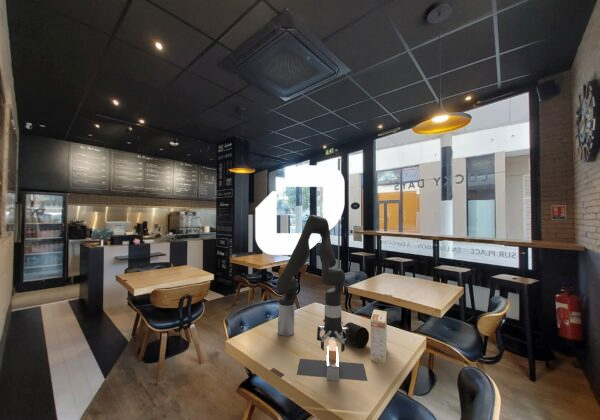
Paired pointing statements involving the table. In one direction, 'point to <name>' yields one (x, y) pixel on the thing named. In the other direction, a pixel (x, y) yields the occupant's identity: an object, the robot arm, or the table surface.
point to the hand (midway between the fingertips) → (332, 350)
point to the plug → (332, 349)
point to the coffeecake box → (379, 336)
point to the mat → (320, 369)
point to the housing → (332, 367)
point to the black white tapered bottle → (355, 334)
